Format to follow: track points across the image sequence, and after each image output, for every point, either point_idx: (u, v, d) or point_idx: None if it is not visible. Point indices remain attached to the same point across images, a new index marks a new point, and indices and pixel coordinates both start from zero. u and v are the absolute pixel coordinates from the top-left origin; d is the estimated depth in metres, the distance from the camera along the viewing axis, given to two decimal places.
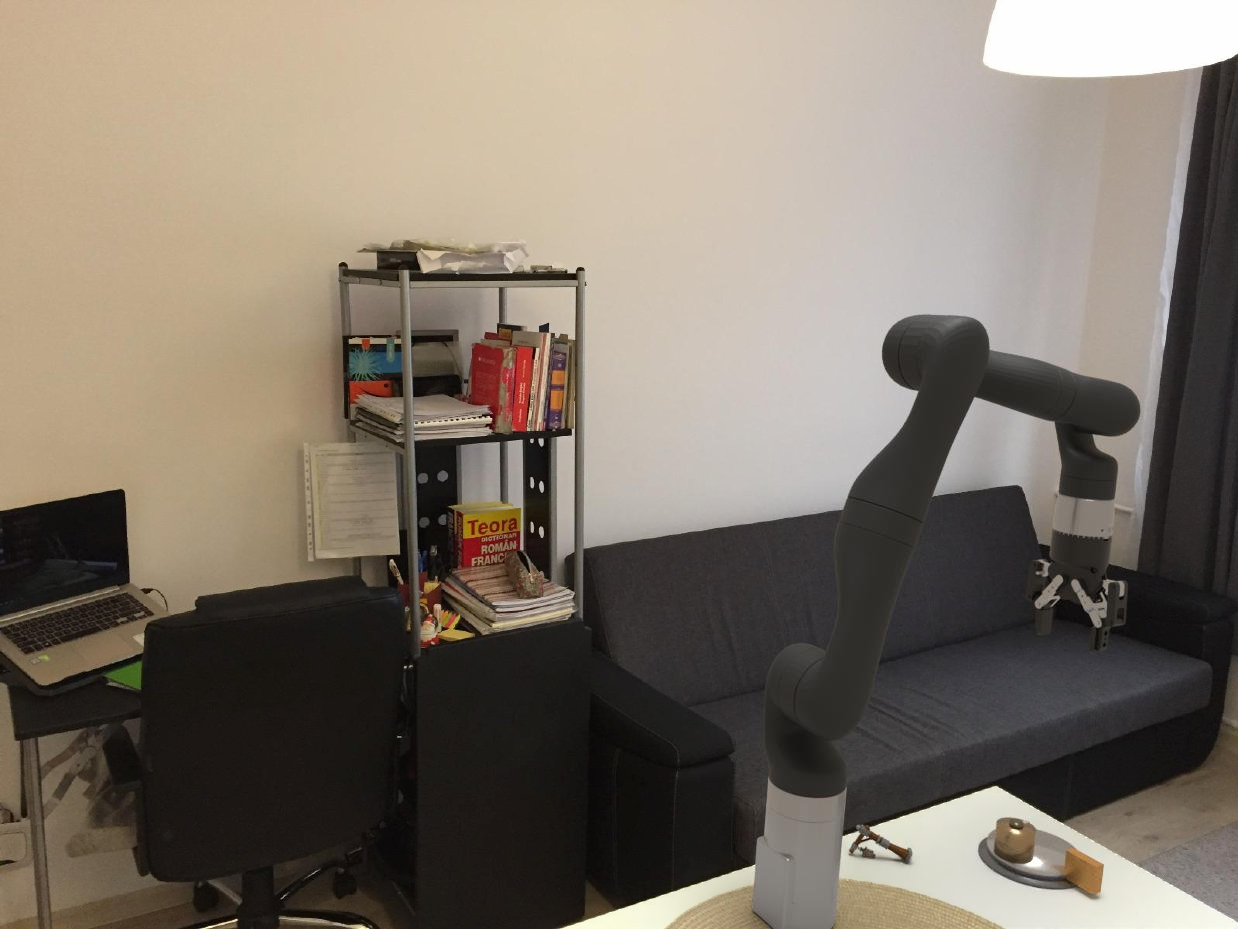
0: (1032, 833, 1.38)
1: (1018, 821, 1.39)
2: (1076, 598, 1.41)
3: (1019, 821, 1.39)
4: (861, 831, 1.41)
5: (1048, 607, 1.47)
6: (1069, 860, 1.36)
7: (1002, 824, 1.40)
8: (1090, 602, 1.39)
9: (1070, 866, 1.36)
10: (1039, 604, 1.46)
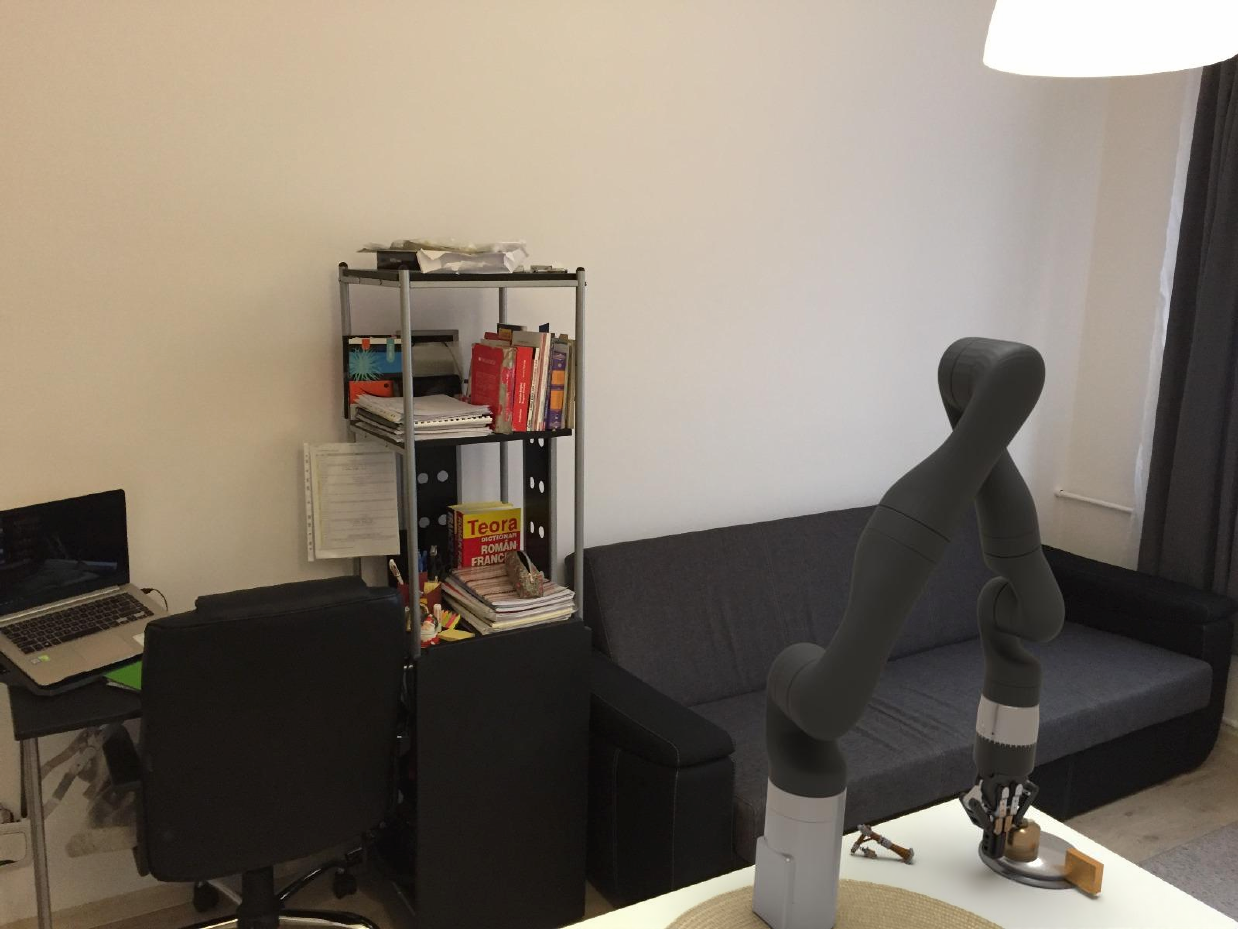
0: (1037, 832, 1.38)
1: (1023, 820, 1.40)
2: None
3: (1024, 820, 1.40)
4: (863, 831, 1.41)
5: None
6: (1069, 860, 1.36)
7: None
8: None
9: (1070, 866, 1.36)
10: (1000, 829, 1.36)
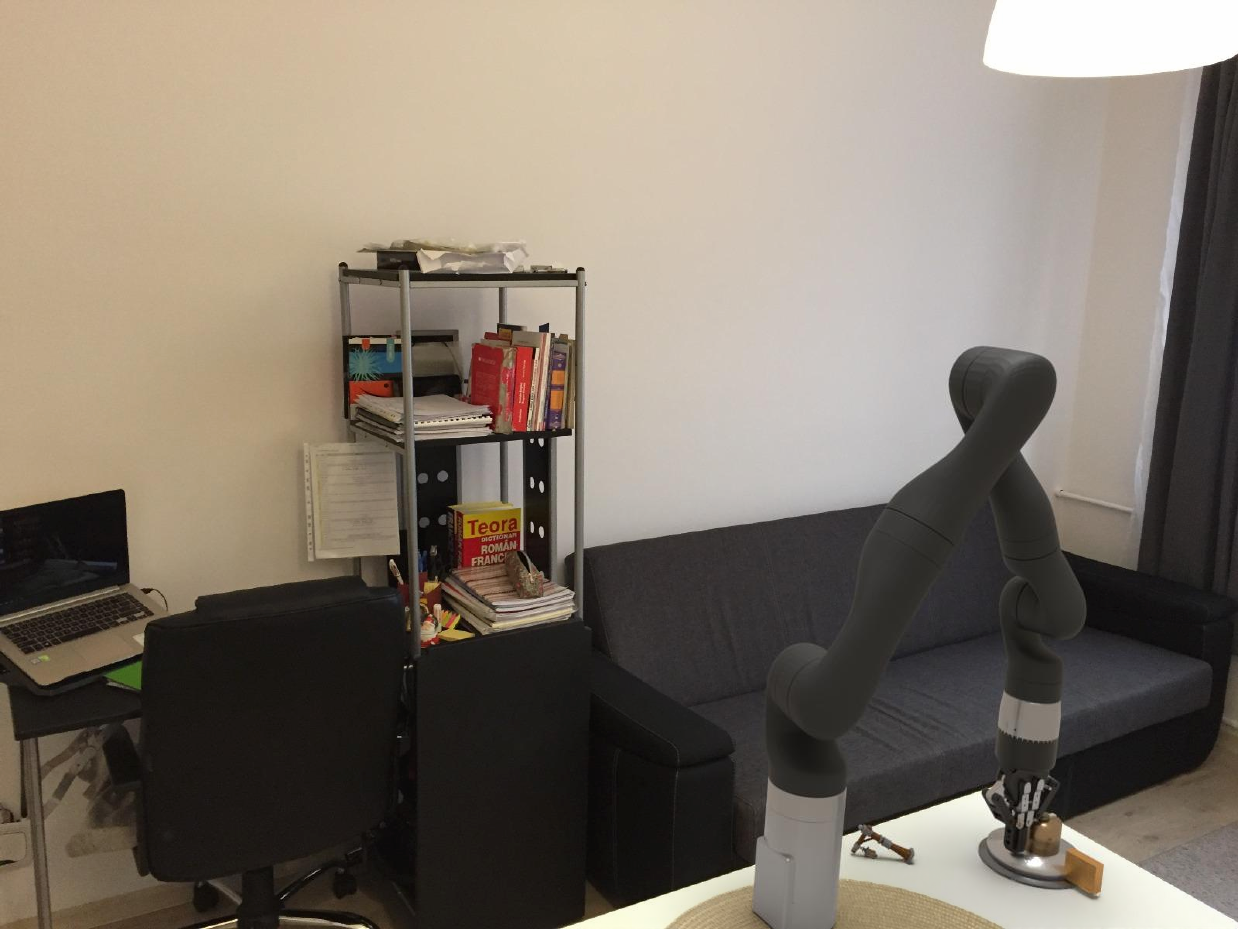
0: (1058, 826, 1.40)
1: (1044, 814, 1.42)
2: None
3: (1045, 814, 1.42)
4: (863, 831, 1.40)
5: None
6: (1069, 860, 1.36)
7: None
8: None
9: (1070, 866, 1.36)
10: (1022, 824, 1.38)
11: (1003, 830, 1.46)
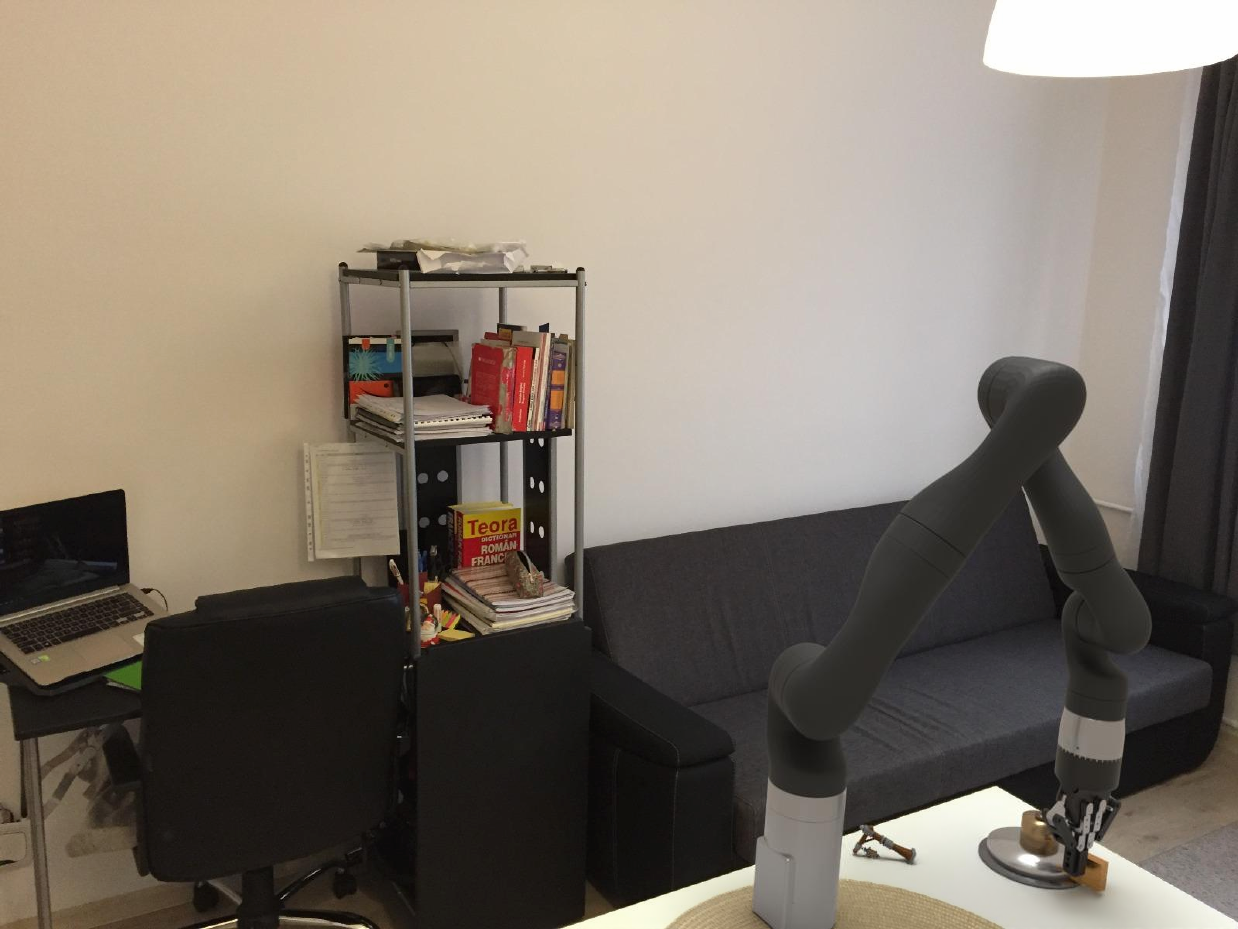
0: None
1: None
2: None
3: None
4: (865, 831, 1.41)
5: None
6: None
7: (1028, 817, 1.42)
8: None
9: None
10: (1083, 846, 1.32)
11: (1000, 831, 1.46)
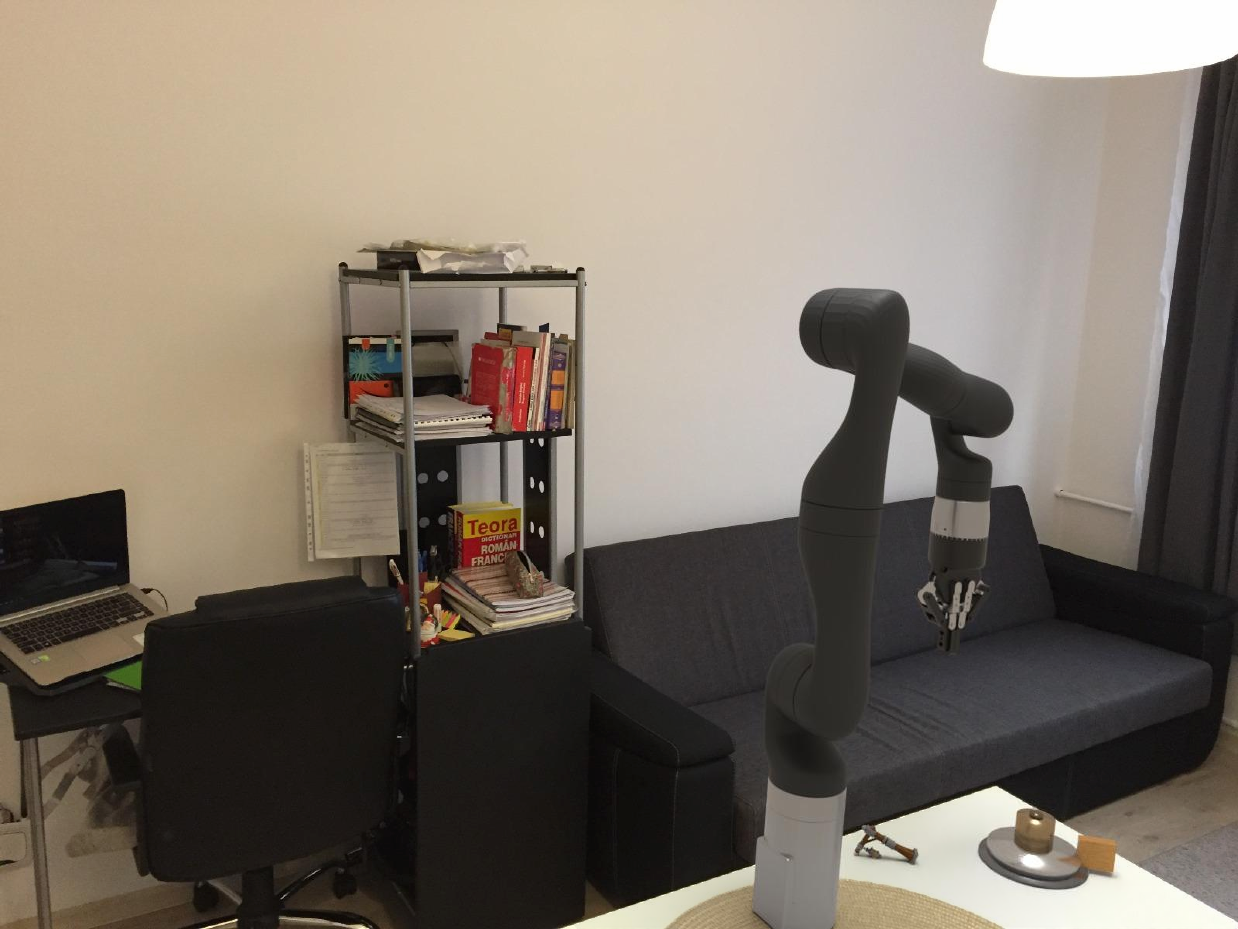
0: (1053, 818, 1.42)
1: (1036, 811, 1.43)
2: None
3: (1036, 811, 1.43)
4: (867, 831, 1.40)
5: None
6: (1084, 848, 1.39)
7: (1027, 819, 1.41)
8: None
9: (1085, 853, 1.39)
10: (954, 625, 1.42)
11: (992, 841, 1.43)
